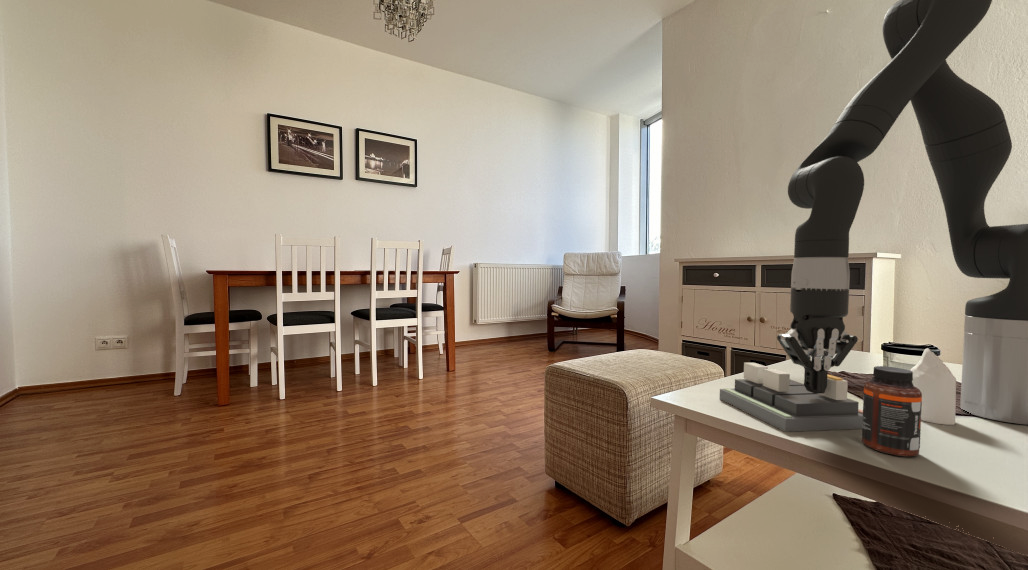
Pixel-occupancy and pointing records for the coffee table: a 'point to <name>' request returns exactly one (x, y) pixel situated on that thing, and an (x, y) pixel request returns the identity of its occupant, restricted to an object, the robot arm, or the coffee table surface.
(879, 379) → the supplement bottle
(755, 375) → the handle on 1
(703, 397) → the coffee table surface
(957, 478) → the coffee table surface
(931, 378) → the white pointed block
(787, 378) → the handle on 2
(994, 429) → the coffee table surface
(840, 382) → the handle
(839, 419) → the panel
